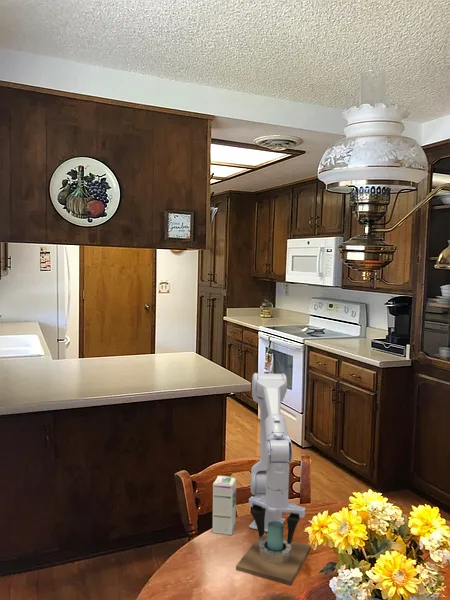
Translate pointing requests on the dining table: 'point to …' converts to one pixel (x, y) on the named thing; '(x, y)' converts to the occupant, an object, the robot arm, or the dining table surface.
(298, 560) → the walnut board
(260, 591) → the dining table surface
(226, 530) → the syrup box
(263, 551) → the socket ring
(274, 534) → the peg
